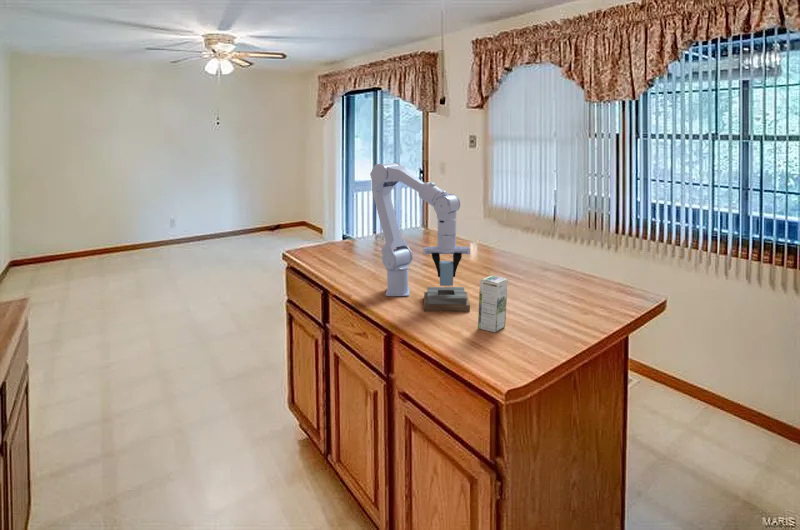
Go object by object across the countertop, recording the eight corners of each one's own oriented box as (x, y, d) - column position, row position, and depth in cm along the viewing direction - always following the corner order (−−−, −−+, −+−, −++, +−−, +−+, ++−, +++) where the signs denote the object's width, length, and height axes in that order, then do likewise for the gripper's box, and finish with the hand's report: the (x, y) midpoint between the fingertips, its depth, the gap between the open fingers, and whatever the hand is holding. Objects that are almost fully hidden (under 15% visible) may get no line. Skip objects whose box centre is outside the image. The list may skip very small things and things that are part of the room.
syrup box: (487, 323, 156) (489, 274, 152) (506, 327, 152) (508, 278, 148) (477, 328, 151) (478, 279, 148) (496, 333, 148) (498, 282, 144)
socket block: (424, 297, 179) (424, 286, 178) (466, 297, 179) (466, 286, 178) (424, 311, 166) (424, 299, 165) (469, 311, 165) (470, 299, 164)
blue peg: (439, 282, 173) (439, 261, 171) (452, 282, 172) (452, 261, 171) (440, 285, 169) (440, 264, 167) (452, 285, 169) (453, 264, 167)
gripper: (423, 236, 163) (423, 279, 166) (471, 236, 163) (470, 279, 166) (423, 232, 170) (423, 273, 173) (469, 232, 169) (468, 273, 173)
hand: (446, 276), depth 170 cm, fingers closed on blue peg, 4 cm apart
